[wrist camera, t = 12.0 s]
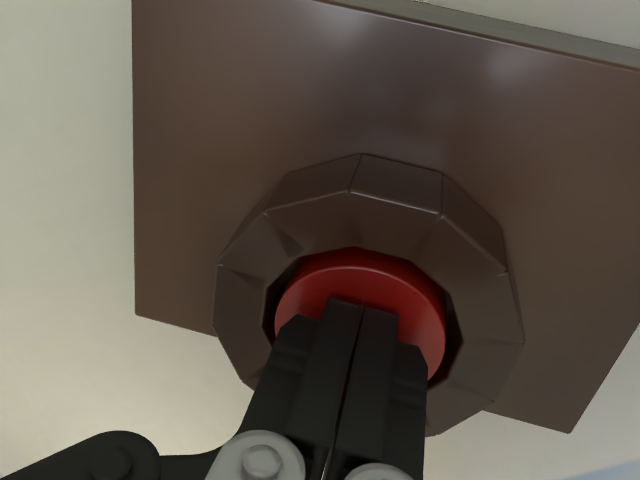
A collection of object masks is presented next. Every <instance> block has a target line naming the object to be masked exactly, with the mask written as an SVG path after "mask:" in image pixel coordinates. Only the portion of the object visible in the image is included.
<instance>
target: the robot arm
mask: <svg viewBox="0 0 640 480" xmlns="http://www.w3.org/2000/svg"><path fill="white" fill-rule="evenodd" d="M361 307H362V305H359V304H355V303H351V302H348V301H344V300H340V299H336V298H332V297H329V296H328V298H327V301H326V304H325V307H324V310H323V313H322V316H321V320H318V319H314V318H310V317H307V316H303V315H299V314H296V315H295V316H294V317H292V318H291V319H290V320H289V321H288V322H286V323H285V324H284V325H283V326H282V327H280V330H279V332H278V335H277V337H276V340H275V342H274V344H273V348H272V350H271V352H270V354H269V357H268V359H267V362H266V365H265V367H264V369H263V372H262V374H261V377H260V379H259V382H258V384H257V386H256V389H255V391H254V394H253V396H252V399H251V401H250V404H249V406H248V409H247V411H246V414H245V416H244V419H243V421H242V424H241V426H240V428H239V429H238V431H237V432H236V434H235V435H234V436H233V437H232V438H231V439H230V440H229V441H227V442H226V443H225V444H224V445H222V446H220V447H218V448H216V449H215V450H212V451H209V452H206V453H201V454H195V455H165V456H159V453H158V451H157V449H156V447H155V446H154V445H153V444H152V443H151V442H150V441H149V440H148V439H147V438H145V437H143V436H141V435H139V434H137V433H134V432H129V431H108V432H104V433H100V434H97V435H95V436H92V437H90V438H88V439H86V440H84V441H81V442H79V443H77V444H75V445H73V446H70V447H68V448H66V449H64V450H62V451H60V452H57V453H55V454H53V455H51V456H49V457H46V458H44V459H42V460H40V461H38V462H36V463H33V464H31V465H29V466H27V467H25V468H23V469H20V470H18V471H16V472H14V473H12V474H9V475H7V476H5V477H3V478H1V479H0V480H321V478H322V475H323V478H322V480H423V465H424V444H425V424H426V404H427V392H426V391H427V383H428V365H427V363H426V361H425V359H424V356H423V354H422V352H421V350H420V348H419V346H416V345H412V344H409V343H405V342H401V341H397V340H396V339H397V331H398V323H399V315H398V314H394V313H390V312H386V311H382V310H379V309H375V308H371V307H367V306H365V307H364V310H363V314H362V317H361V321H360V324H359V328H358V332H357V335H356V339H355V334H356V330H357V325H358V321H359V316H360V312H361ZM354 339H355V343H354ZM353 343H354V346H353ZM352 347H353V350H352ZM351 352H352V354H351ZM350 356H351V357H350ZM325 464H326V465H325ZM324 468H325V469H324ZM323 471H324V474H323Z"/></svg>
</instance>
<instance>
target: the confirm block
mask: <svg viewBox="0 0 640 480" xmlns="http://www.w3.org/2000/svg"><path fill="white" fill-rule="evenodd" d="M132 83H133V173H134V264H135V314H136V315H138V316H141V317H145V318H149V319H152V320H156V321H160V322H163V323H167V324H171V325H174V326H178V327H182V328H185V329H189V330H192V331H196V332H200V333H203V334H207V335H211V336H214V337H218V339H219V341H220V342H221V344H222V346H223V348H224V350H225V352H226V354H227V355H228V357H229V359H230V361H231V363H232V365H233V367H234V368H235V370H236V372H237V374H238V376H239V378H240V379H241V380H242V382H243V383H244V384H246V385H247V386H248V387H250V388H251V389H252V390H254V391H255V389H256V386H257V384H258V382H259V379H260V377H261V374H262V372H263V369H264V367H265V365H266V362H267V359H268V357H269V354H270V352H271V350H272V348H273V344H274V342H275V340H276V334H275V325H274V323H275V314H276V310H277V306H278V304H279V302H280V299H281V297H282V295H283V293H284V290H285V288H286V286H287V283H288V281H289V279H290V277H291V274H292V272H293V270H294V267H295V265H296V263H297V261H298V259H299V258H300V257H303V256H308V255H313V254H318V253H323V252H327V251H332V250H337V249H342V248H346V247H351V246H355V247H359V248H363V249H367V250H371V251H375V252H379V253H383V254H386V255H390V256H394V257H398V258H402V259H406V260H410V261H411V262H412V263H413V264H414V265H416V266H417V267H418V268H419V269H420V270H421V271H423V272H424V273H425V274H426V275H427V276H428V277H430V278H431V279H432V280H433V281H434V282H435V283H437V284H438V285H439V286H440V287H441V288H442V289H443V290H445V291H446V344H445V352H444V356H443V359H442V361H441V363H440V365H439V367H438V369H437V370H436V372H435V373H434V375H433V376H432V377H431V378H430V379H429V380H428V383H427V391H426V392H427V404H426V424H425V437H430V436H436V434H437V435H439V434H441V433H443V432H445V431H446V430H448V429H450V428H452V427H453V426H455V425H457V424H459V423H460V422H462V421H464V420H466V419H467V418H469V417H471V416H473V415H474V414H476V413H478V412H480V411H481V410H483V411H487V412H491V413H494V414H498V415H502V416H505V417H509V418H513V419H516V420H520V421H523V422H527V423H531V424H534V425H538V426H542V427H545V428H549V429H553V430H556V431H560V432H564V433H567V434H570V433H571V432H572V430H573V428H574V427H575V425H576V424H577V422H578V420H579V419H580V417H581V416H582V414H583V412H584V411H585V409H586V408H587V406H588V404H589V403H590V401H591V400H592V398H593V397H594V395H595V393H596V392H597V390H598V389H599V387H600V385H601V384H602V382H603V381H604V379H605V377H606V376H607V374H608V373H609V371H610V369H611V368H612V366H613V365H614V363H615V361H616V360H617V358H618V357H619V355H620V353H621V352H622V350H623V349H624V347H625V345H626V344H627V342H628V341H629V339H630V337H631V336H632V334H633V333H634V331H635V330H636V328H637V326H638V325H639V323H640V50H637V49H633V48H628V47H624V46H619V45H614V44H610V43H605V42H601V41H596V40H591V39H587V38H582V37H578V36H573V35H568V34H564V33H559V32H554V31H550V30H545V29H541V28H536V27H531V26H527V25H522V24H518V23H513V22H508V21H504V20H499V19H494V18H490V17H485V16H481V15H476V14H471V13H467V12H462V11H458V10H453V9H448V8H444V7H439V6H435V5H430V4H425V3H421V2H416V1H411V0H132Z"/></svg>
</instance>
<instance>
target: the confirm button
mask: <svg viewBox="0 0 640 480" xmlns="http://www.w3.org/2000/svg"><path fill="white" fill-rule="evenodd" d="M328 296H329V297H332V298H336V299H340V300H344V301H348V302H351V303H355V304H359V305H362V307H361V312H360V316H359V321H358V325H357V330H356V334H355V339H356V335H357V332H358V328H359V324H360V321H361V317H362V314H363V310H364V307H365V306H367V307H371V308H375V309H379V310H382V311H386V312H390V313H394V314H398V315H399V323H398V331H397V339H396V340H397V341H401V342H405V343H409V344H412V345H416V346H419V348H420V350H421V352H422V354H423V356H424V359H425V361H426V363H427V365H428V380H429V379H430V378H431V377H432V376H433V375H434V373H435V372H436V370H437V369H438V367H439V365H440V363H441V361H442V359H443V356H444V352H445V344H446V291H445V290H443V289H442V288H441V287H440V286H439V285H438V284H437V283H435V282H434V281H433V280H432V279H431V278H430V277H428V276H427V275H426V274H425V273H424V272H423V271H421V270H420V269H419V268H418V267H417V266H416V265H414V264H413V263H412V262H411V261H410V260H406V259H402V258H398V257H394V256H390V255H386V254H383V253H379V252H375V251H371V250H367V249H363V248H359V247H355V246H351V247H346V248H342V249H337V250H332V251H327V252H323V253H318V254H313V255H308V256H303V257H300V258H299V259H298V261H297V263H296V265H295V267H294V270H293V272H292V274H291V277H290V279H289V281H288V283H287V286H286V288H285V290H284V293H283V295H282V297H281V299H280V302H279V304H278V306H277V310H276V314H275V323H274V325H275V334H276V337H277V335H278V332H279V330H280V327H282V326H283V325H284V324H285V323H286V322H288V321H289V320H290V319H291V318H292V317H294V316H295V315H296V314H299V315H303V316H307V317H310V318H314V319H318V320H321V316H322V313H323V310H324V307H325V304H326V301H327V298H328ZM355 339H354V343H355ZM354 343H353V346H354ZM352 350H353V347H352ZM351 354H352V352H351ZM350 357H351V356H350Z"/></svg>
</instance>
